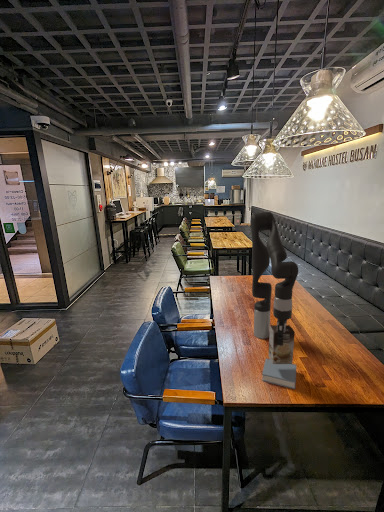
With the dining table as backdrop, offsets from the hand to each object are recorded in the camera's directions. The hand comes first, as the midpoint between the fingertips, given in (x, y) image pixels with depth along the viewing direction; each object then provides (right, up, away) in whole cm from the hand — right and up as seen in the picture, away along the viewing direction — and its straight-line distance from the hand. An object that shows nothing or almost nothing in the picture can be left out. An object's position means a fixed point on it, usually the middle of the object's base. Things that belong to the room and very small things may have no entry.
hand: (280, 339), depth 111 cm
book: (+1, -19, +4) cm, 19 cm away
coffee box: (+1, -10, +2) cm, 11 cm away
